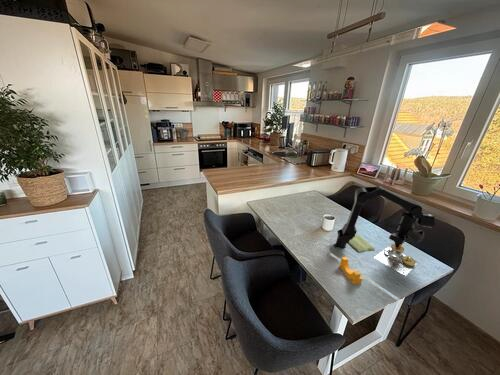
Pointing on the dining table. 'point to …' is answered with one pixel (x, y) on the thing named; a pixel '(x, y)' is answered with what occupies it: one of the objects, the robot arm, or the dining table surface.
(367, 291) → the dining table surface
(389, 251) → the carrier plate
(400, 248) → the bronze flanged knob
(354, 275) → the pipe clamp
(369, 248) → the washcloth
